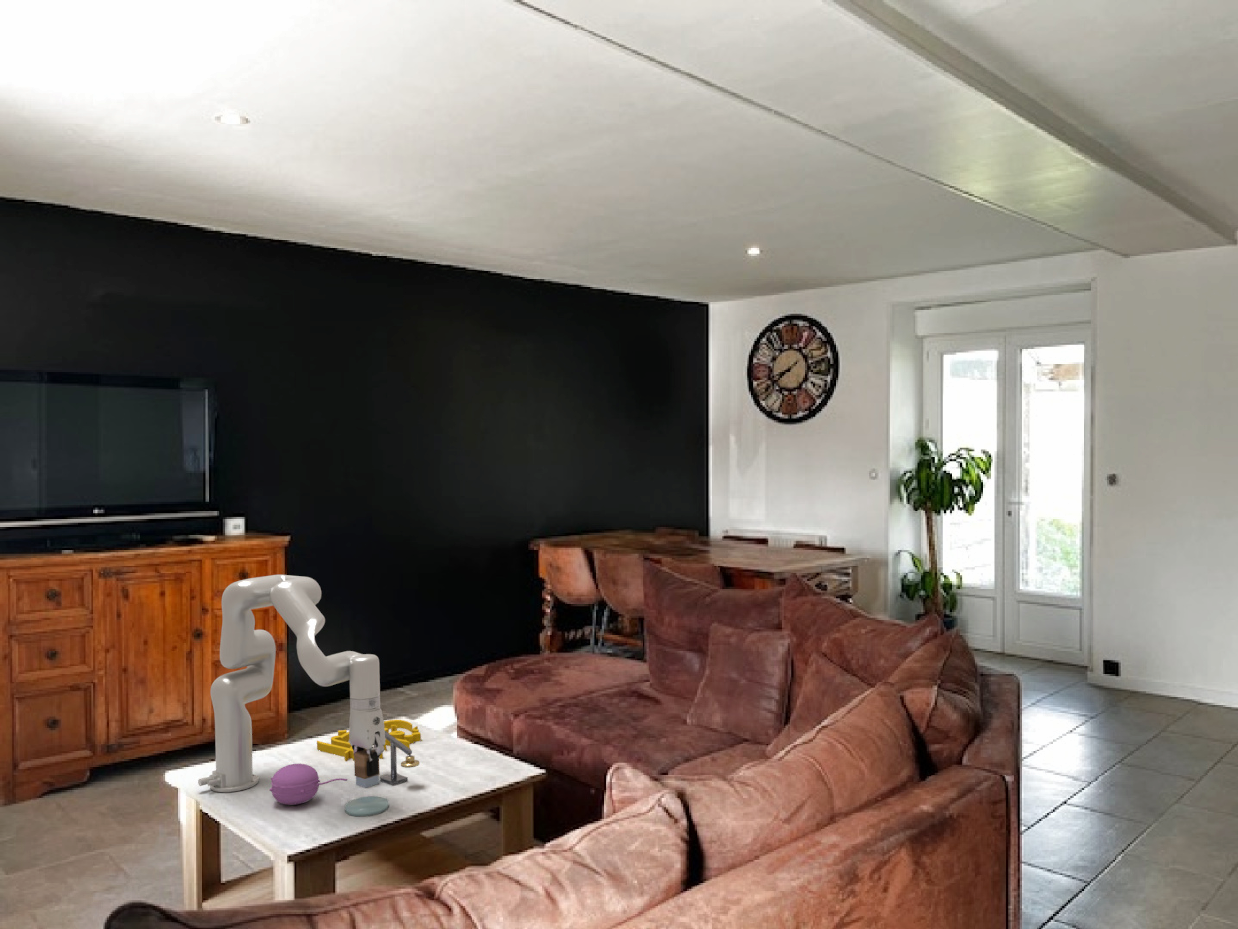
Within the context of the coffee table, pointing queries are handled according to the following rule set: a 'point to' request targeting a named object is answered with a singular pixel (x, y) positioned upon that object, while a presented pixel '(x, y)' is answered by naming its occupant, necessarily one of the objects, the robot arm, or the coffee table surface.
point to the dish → (366, 806)
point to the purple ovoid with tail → (296, 784)
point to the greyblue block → (367, 781)
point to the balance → (410, 762)
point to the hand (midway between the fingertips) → (366, 772)
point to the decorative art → (344, 748)
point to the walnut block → (362, 764)
